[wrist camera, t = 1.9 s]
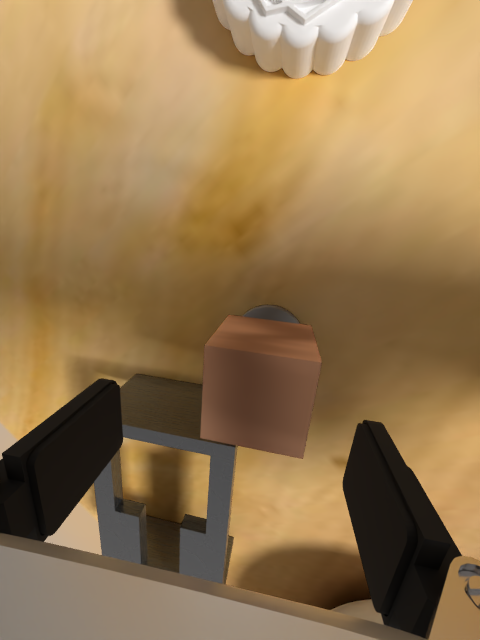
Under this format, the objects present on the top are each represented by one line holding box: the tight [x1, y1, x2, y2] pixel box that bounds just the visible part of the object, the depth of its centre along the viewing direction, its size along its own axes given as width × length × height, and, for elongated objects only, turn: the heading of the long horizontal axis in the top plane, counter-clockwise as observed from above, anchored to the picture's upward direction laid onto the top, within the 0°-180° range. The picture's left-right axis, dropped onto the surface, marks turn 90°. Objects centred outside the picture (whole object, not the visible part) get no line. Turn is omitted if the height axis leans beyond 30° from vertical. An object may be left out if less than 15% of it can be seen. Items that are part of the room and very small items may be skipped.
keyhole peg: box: [200, 305, 322, 459], centre depth 16 cm, size 5×5×8 cm
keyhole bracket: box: [94, 374, 238, 585], centre depth 22 cm, size 18×10×6 cm, turn 175°
